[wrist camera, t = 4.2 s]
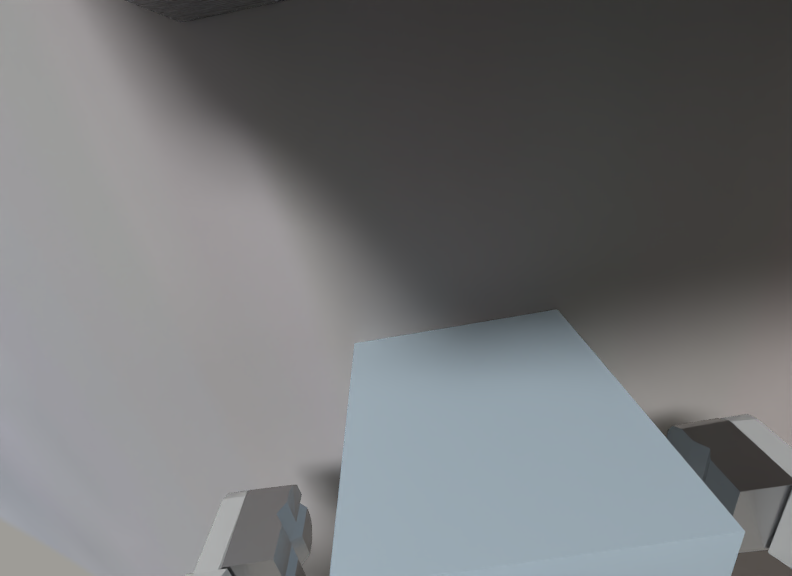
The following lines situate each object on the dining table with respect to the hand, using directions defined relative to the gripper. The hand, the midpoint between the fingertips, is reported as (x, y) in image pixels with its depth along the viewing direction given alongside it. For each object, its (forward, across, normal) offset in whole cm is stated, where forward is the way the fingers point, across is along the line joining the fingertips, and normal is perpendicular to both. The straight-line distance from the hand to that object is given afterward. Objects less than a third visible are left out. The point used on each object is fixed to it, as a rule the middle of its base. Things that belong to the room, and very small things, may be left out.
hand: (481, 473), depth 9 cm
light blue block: (+2, 0, 0) cm, 2 cm away
